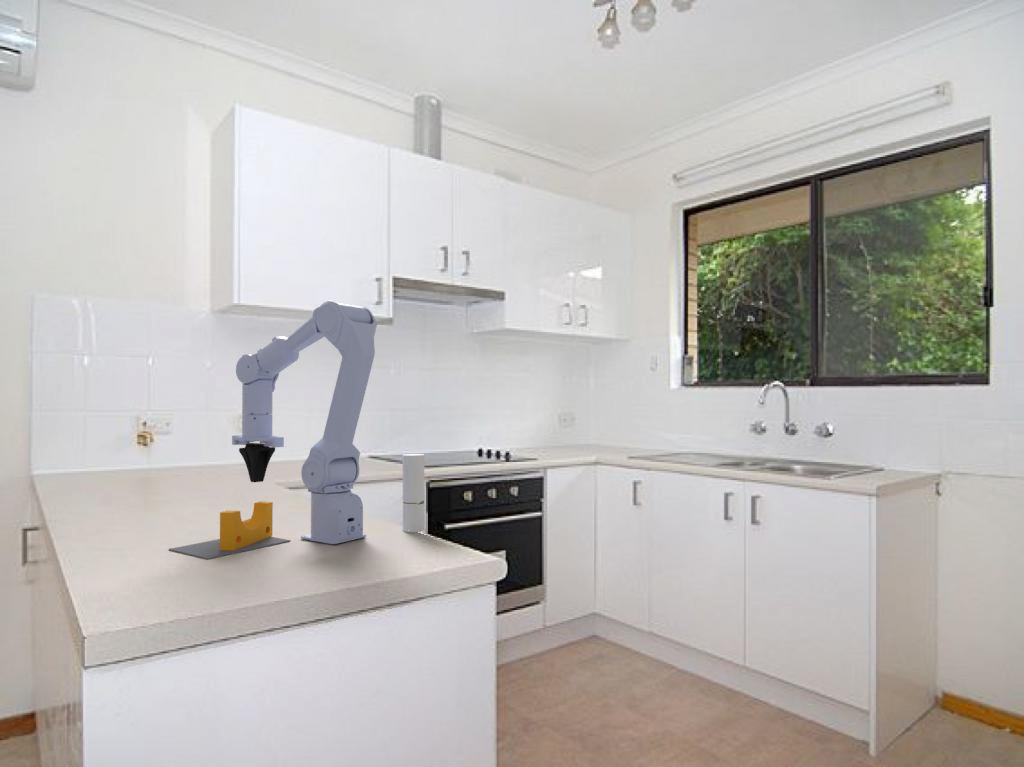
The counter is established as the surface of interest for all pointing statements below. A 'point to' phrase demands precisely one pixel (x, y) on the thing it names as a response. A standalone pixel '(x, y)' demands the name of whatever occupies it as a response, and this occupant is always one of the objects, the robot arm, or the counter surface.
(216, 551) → the mat
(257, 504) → the pipe clamp
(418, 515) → the tube
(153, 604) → the counter surface
